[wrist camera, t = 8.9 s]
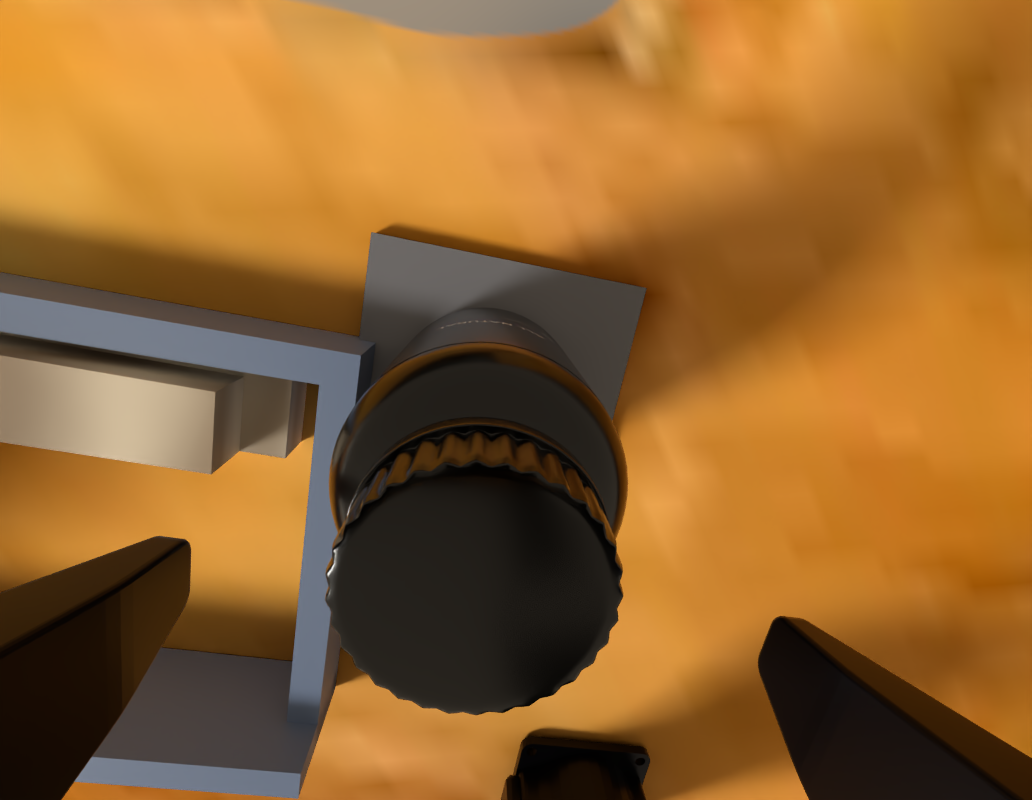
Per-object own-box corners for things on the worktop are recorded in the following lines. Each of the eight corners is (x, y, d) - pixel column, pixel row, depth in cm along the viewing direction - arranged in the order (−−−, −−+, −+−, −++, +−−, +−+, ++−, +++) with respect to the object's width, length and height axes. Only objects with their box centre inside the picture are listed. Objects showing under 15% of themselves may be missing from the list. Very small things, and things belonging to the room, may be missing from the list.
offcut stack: (310, 367, 20) (269, 395, 16) (303, 438, 20) (262, 482, 17) (-64, 299, 18) (-209, 312, 14) (-56, 379, 19) (-192, 412, 15)
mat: (641, 287, 19) (646, 288, 19) (582, 520, 22) (584, 527, 21) (374, 232, 18) (371, 232, 18) (345, 485, 21) (341, 492, 20)
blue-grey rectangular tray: (378, 340, 19) (344, 368, 14) (335, 687, 24) (298, 798, 19) (-202, 236, 17) (-470, 229, 12) (-134, 640, 21) (-312, 752, 17)
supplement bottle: (516, 268, 18) (576, 298, 7) (601, 423, 20) (761, 653, 9) (355, 363, 19) (157, 540, 7) (452, 505, 21) (417, 823, 9)
